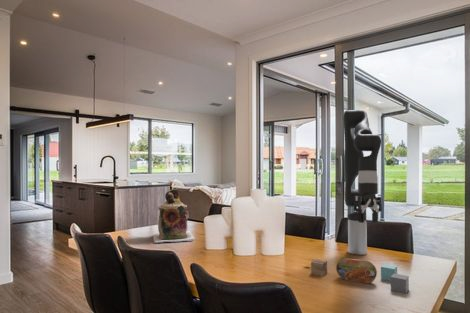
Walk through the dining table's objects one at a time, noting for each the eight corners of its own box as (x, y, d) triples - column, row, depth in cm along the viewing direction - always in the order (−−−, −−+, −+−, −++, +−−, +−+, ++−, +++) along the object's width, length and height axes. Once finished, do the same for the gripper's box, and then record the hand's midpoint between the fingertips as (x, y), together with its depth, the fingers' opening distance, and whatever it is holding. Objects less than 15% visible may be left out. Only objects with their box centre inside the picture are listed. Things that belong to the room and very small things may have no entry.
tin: (336, 278, 133) (336, 257, 133) (338, 276, 135) (338, 255, 136) (376, 285, 125) (375, 263, 125) (377, 283, 127) (377, 261, 127)
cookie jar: (152, 236, 215) (152, 187, 217) (189, 233, 223) (189, 186, 224) (154, 244, 192) (155, 189, 193) (196, 241, 199) (196, 188, 200)
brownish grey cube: (316, 271, 142) (315, 259, 142) (327, 273, 139) (327, 261, 139) (311, 274, 138) (311, 262, 138) (322, 276, 135) (322, 264, 135)
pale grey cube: (393, 286, 123) (393, 273, 124) (408, 289, 120) (408, 276, 120) (390, 290, 119) (390, 276, 120) (406, 294, 116) (405, 279, 116)
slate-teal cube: (384, 276, 136) (383, 263, 136) (397, 278, 133) (397, 266, 133) (381, 279, 132) (380, 266, 132) (394, 281, 129) (394, 269, 129)
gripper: (371, 183, 142) (371, 221, 140) (348, 181, 134) (348, 221, 133) (386, 183, 135) (387, 223, 133) (363, 181, 128) (364, 223, 126)
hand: (368, 222), depth 133 cm, fingers open, 8 cm apart
